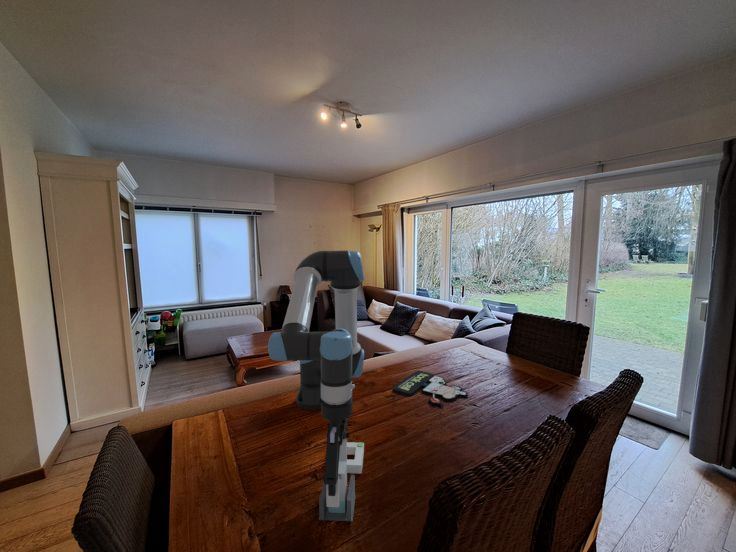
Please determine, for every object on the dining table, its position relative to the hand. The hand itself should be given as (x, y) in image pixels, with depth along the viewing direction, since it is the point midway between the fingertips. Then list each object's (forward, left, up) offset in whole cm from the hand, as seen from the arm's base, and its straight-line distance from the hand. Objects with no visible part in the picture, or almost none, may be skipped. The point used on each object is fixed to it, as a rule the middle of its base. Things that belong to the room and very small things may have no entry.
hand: (337, 482), depth 72 cm
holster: (0, 0, -7) cm, 7 cm away
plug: (0, 0, -6) cm, 6 cm away
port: (0, +16, -7) cm, 18 cm away
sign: (+34, +66, -8) cm, 74 cm away
